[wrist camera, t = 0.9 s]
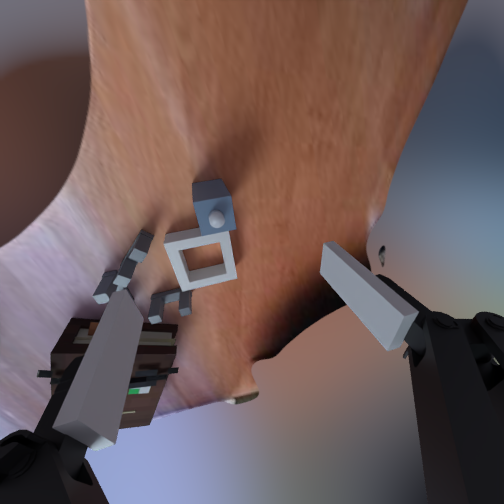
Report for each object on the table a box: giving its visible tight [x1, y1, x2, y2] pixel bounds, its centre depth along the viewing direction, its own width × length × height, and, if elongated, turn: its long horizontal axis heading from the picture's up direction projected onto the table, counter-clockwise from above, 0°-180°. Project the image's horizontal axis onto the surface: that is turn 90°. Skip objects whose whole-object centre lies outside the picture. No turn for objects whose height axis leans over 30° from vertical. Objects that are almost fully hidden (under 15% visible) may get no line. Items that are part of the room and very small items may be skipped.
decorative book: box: [37, 318, 179, 429], centre depth 39 cm, size 19×8×30 cm
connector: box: [192, 179, 236, 236], centre depth 25 cm, size 4×4×9 cm
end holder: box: [164, 227, 237, 292], centre depth 32 cm, size 9×9×3 cm
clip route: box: [93, 230, 192, 324], centre depth 30 cm, size 11×14×5 cm
